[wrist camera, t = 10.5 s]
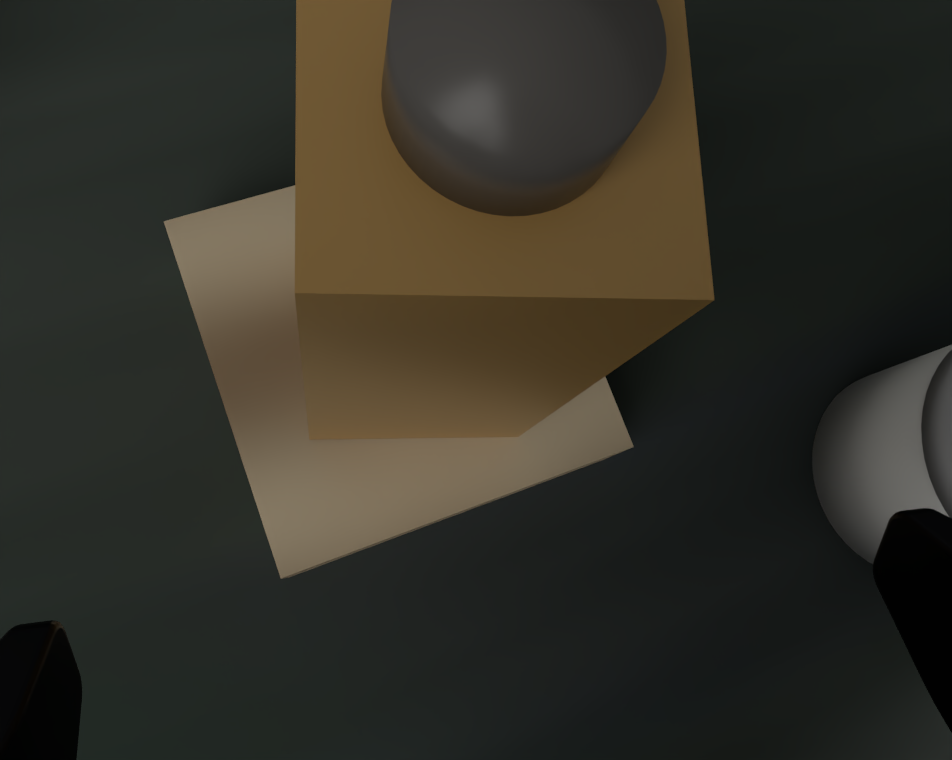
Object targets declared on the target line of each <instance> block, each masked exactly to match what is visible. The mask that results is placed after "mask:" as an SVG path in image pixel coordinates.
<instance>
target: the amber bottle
mask: <svg viewBox="0 0 952 760" xmlns="http://www.w3.org/2000/svg"><path fill="white" fill-rule="evenodd" d="M712 301H714V291H713V281H712V271H711V261H710V251H709V241H708V231H707V221H706V211H705V201H704V191H703V182H702V172H701V162H700V152H699V142H698V132H697V122H696V112H695V102H694V92H693V82H692V72H691V62H690V52H689V43H688V33H687V23H686V13H685V3H684V0H296V158H295V302H296V312H297V322H298V332H299V341H300V351H301V361H302V371H303V381H304V391H305V401H306V411H307V421H308V431H309V440H319V439H398V438H478V437H519V436H520V435H522V434H523V433H525V432H526V431H527V430H529V429H530V428H532V427H533V426H535V425H536V424H537V423H539V422H540V421H542V420H543V419H545V418H546V417H548V416H549V415H550V414H552V413H553V412H555V411H556V410H558V409H559V408H560V407H562V406H563V405H565V404H566V403H568V402H569V401H570V400H572V399H573V398H575V397H576V396H578V395H579V394H580V393H582V392H583V391H585V390H586V389H588V388H589V387H591V386H592V385H593V384H595V383H596V382H598V381H599V380H601V379H602V378H603V377H605V376H606V375H608V374H609V373H611V372H612V371H613V370H615V369H616V368H618V367H619V366H621V365H622V364H623V363H625V362H626V361H628V360H629V359H631V358H632V357H633V356H635V355H636V354H638V353H639V352H641V351H642V350H644V349H645V348H646V347H648V346H649V345H651V344H652V343H654V342H655V341H656V340H658V339H659V338H661V337H662V336H664V335H665V334H666V333H668V332H669V331H671V330H672V329H674V328H675V327H676V326H678V325H679V324H681V323H682V322H684V321H685V320H686V319H688V318H689V317H691V316H692V315H694V314H695V313H697V312H698V311H699V310H701V309H702V308H704V307H705V306H707V305H708V304H709V303H711V302H712Z"/></svg>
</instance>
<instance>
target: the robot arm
mask: <svg viewBox="0 0 952 760" xmlns="http://www.w3.org/2000/svg"><path fill="white" fill-rule="evenodd" d="M873 575H874V579H875V582H876V585H877V587H878V589H879V591H880V593H881V595H882V598H883V600H884V602H885V604H886V606H887V608H888V610H889V612H890V614H891V616H892V618H893V620H894V622H895V624H896V627H897V629H898V631H899V633H900V635H901V637H902V639H903V641H904V643H905V645H906V647H907V649H908V651H909V653H910V655H911V658H912V660H913V662H914V664H915V666H916V668H917V670H918V672H919V674H920V676H921V678H922V680H923V682H924V684H925V686H926V688H927V690H928V692H929V694H930V696H931V698H932V700H933V702H934V703H935V705H936V707H937V709H938V710H939V712H940V714H941V716H942V717H943V719H944V721H945V722H946V724H947V726H948V727H949V729H950V731H951V732H952V518H950V517H948V516H946V515H944V514H942V513H940V512H938V511H936V510H934V509H930V508H920V509H912V510H904V511H899V512H896V513H895V514H893V515H892V516H891V517H890V519H889V521H888V524H887V526H886V529H885V532H884V534H883V537H882V540H881V542H880V545H879V548H878V550H877V553H876V556H875V558H874V562H873ZM81 703H82V683H81V676H80V673H79V670H78V667H77V664H76V661H75V658H74V655H73V652H72V649H71V646H70V643H69V641H68V638H67V635H66V632H65V630H64V627H63V626H62V625H61V624H60V622H58V621H53V620H51V621H44V622H36V623H28V624H21V625H17V626H15V627H13V628H12V629H10V630H9V631H8V632H7V633H6V634H5V635H4V636H3V637H2V638H1V639H0V760H76V758H77V747H78V736H79V725H80V714H81Z"/></svg>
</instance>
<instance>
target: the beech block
mask: <svg viewBox="0 0 952 760" xmlns="http://www.w3.org/2000/svg"><path fill="white" fill-rule="evenodd" d="M164 224H165V227H166V230H167V233H168V236H169V239H170V242H171V245H172V248H173V251H174V254H175V257H176V260H177V263H178V266H179V270H180V273H181V276H182V279H183V282H184V285H185V288H186V291H187V294H188V297H189V300H190V303H191V306H192V309H193V312H194V315H195V318H196V321H197V324H198V327H199V330H200V333H201V337H202V340H203V343H204V346H205V349H206V352H207V355H208V358H209V361H210V364H211V367H212V370H213V373H214V376H215V379H216V382H217V385H218V388H219V391H220V394H221V397H222V401H223V404H224V407H225V410H226V413H227V416H228V419H229V422H230V425H231V428H232V431H233V434H234V437H235V440H236V443H237V446H238V449H239V452H240V455H241V458H242V461H243V464H244V468H245V471H246V474H247V477H248V480H249V483H250V486H251V489H252V492H253V495H254V498H255V501H256V504H257V507H258V510H259V513H260V516H261V519H262V522H263V525H264V528H265V532H266V535H267V538H268V541H269V544H270V547H271V550H272V553H273V556H274V559H275V562H276V565H277V568H278V571H279V574H280V577H281V578H288V577H291V576H294V575H296V574H299V573H302V572H305V571H307V570H310V569H313V568H315V567H318V566H321V565H323V564H326V563H329V562H331V561H334V560H337V559H339V558H342V557H345V556H347V555H350V554H353V553H355V552H358V551H361V550H363V549H366V548H369V547H371V546H374V545H377V544H379V543H382V542H385V541H387V540H390V539H393V538H396V537H398V536H401V535H404V534H406V533H409V532H412V531H414V530H417V529H420V528H422V527H425V526H428V525H430V524H433V523H436V522H438V521H441V520H444V519H446V518H449V517H452V516H454V515H457V514H460V513H462V512H465V511H468V510H470V509H473V508H476V507H478V506H481V505H484V504H487V503H489V502H492V501H495V500H497V499H500V498H503V497H505V496H508V495H511V494H513V493H516V492H519V491H521V490H524V489H527V488H529V487H532V486H535V485H537V484H540V483H543V482H545V481H548V480H551V479H553V478H556V477H559V476H561V475H564V474H567V473H570V472H572V471H575V470H578V469H580V468H583V467H586V466H588V465H591V464H594V463H596V462H599V461H602V460H604V459H607V458H609V457H611V456H613V455H616V454H618V453H620V452H623V451H625V450H627V449H630V448H632V447H634V446H633V444H632V441H631V439H630V436H629V434H628V431H627V429H626V426H625V424H624V422H623V419H622V417H621V414H620V412H619V409H618V407H617V404H616V402H615V399H614V397H613V394H612V392H611V389H610V387H609V384H608V382H607V379H606V377H603V378H602V379H601V380H599V381H598V382H596V383H595V384H593V385H592V386H591V387H589V388H588V389H586V390H585V391H583V392H582V393H580V394H579V395H578V396H576V397H575V398H573V399H572V400H570V401H569V402H568V403H566V404H565V405H563V406H562V407H560V408H559V409H558V410H556V411H555V412H553V413H552V414H550V415H549V416H548V417H546V418H545V419H543V420H542V421H540V422H539V423H537V424H536V425H535V426H533V427H532V428H530V429H529V430H527V431H526V432H525V433H523V434H522V435H520V436H519V437H478V438H398V439H319V440H309V431H308V421H307V411H306V401H305V391H304V381H303V371H302V361H301V351H300V341H299V332H298V322H297V312H296V302H295V185H294V186H291V187H287V188H284V189H280V190H276V191H273V192H269V193H265V194H262V195H258V196H254V197H251V198H247V199H244V200H240V201H236V202H233V203H229V204H225V205H222V206H218V207H214V208H211V209H207V210H203V211H200V212H196V213H193V214H189V215H185V216H182V217H178V218H174V219H171V220H167V221H164Z"/></svg>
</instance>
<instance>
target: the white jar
mask: <svg viewBox="0 0 952 760" xmlns="http://www.w3.org/2000/svg"><path fill="white" fill-rule="evenodd" d="M812 470H813V478H814V484H815V488H816V492H817V496H818V498H819V501H820V504H821V506H822V509H823V511H824V513H825V515H826V516H827V518H828V520H829V522H830V524H831V525H832V527H833V528H834V530H835V531H836V533H837V534H838V535H839V536H840V537H841V538H842V540H843V541H844V542H845V543H846V544H847V545H848V546H849V547H850V548H851V549H852V550H853V551H854V552H855V553H857V554H858V555H859V556H861V557H862V558H863V559H865V560H866V561H868V562H869V563H871V564H873V562H874V558H875V556H876V553H877V550H878V548H879V545H880V542H881V540H882V537H883V534H884V532H885V529H886V526H887V524H888V521H889V519H890V517H891V516H892V515H893V514H895V513H896V512H899V511H904V510H912V509H920V508H930V509H934V510H936V511H938V512H940V513H942V514H944V515H946V516H948V517H950V518H952V345H949V346H947V347H944V348H941V349H939V350H936V351H933V352H930V353H928V354H925V355H922V356H920V357H917V358H914V359H912V360H909V361H906V362H904V363H901V364H898V365H896V366H893V367H890V368H888V369H885V370H882V371H880V372H877V373H874V374H872V375H869V376H866V377H864V378H862V379H859V380H857V381H855V382H853V383H852V384H850V385H849V386H848V387H846V388H845V389H843V390H842V391H841V392H840V393H839V394H838V395H837V396H836V397H835V398H834V399H833V401H832V402H831V403H830V404H829V406H828V407H827V409H826V410H825V412H824V414H823V416H822V418H821V420H820V422H819V425H818V427H817V430H816V434H815V438H814V443H813V451H812Z"/></svg>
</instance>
